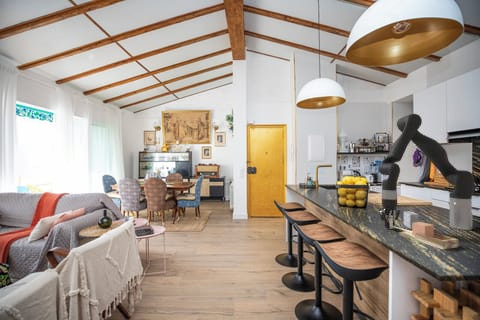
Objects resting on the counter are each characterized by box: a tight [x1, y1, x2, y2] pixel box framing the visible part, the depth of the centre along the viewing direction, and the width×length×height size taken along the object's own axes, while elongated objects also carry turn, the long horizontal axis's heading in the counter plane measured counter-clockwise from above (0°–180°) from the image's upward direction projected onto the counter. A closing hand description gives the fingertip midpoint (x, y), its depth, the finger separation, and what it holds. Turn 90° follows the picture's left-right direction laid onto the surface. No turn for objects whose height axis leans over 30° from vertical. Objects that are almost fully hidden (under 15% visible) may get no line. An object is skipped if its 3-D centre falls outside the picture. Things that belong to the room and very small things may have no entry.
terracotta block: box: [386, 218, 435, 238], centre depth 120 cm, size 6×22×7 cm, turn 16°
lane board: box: [398, 231, 460, 251], centre depth 110 cm, size 10×20×4 cm, turn 16°
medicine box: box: [403, 210, 420, 230], centre depth 132 cm, size 8×4×9 cm, turn 168°
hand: (389, 227), depth 129 cm, fingers closed on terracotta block, 3 cm apart
